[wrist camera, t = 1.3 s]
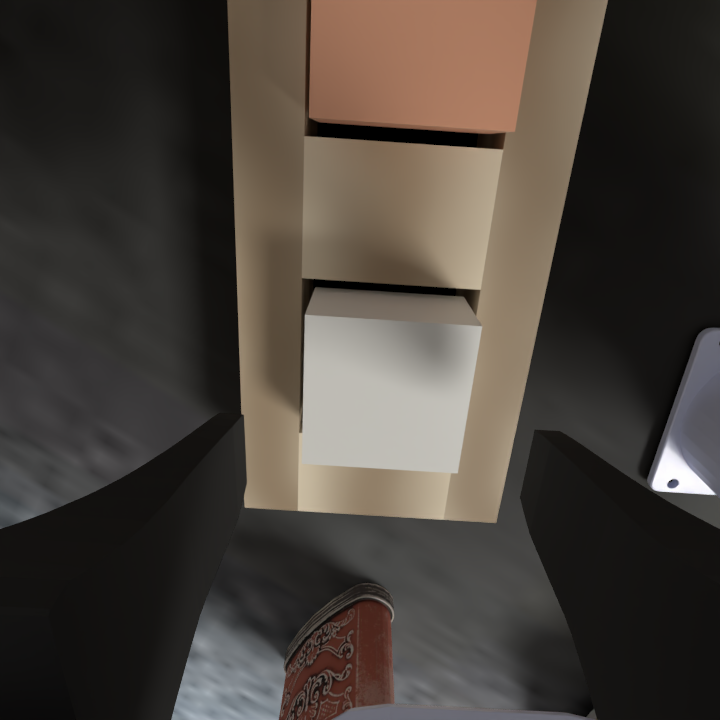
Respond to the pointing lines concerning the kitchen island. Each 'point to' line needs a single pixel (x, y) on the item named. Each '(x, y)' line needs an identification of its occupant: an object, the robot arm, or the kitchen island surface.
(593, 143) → the kitchen island surface
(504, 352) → the button panel
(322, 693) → the lighter
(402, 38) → the terracotta button
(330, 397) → the grey button
